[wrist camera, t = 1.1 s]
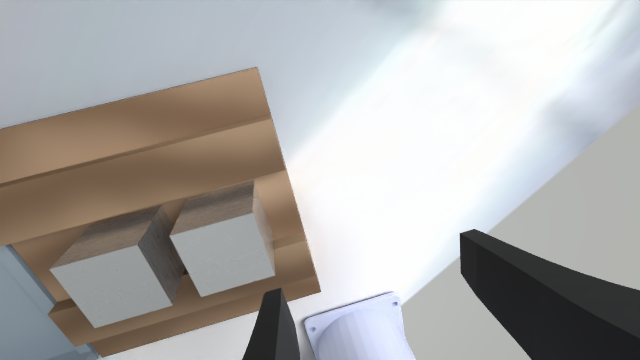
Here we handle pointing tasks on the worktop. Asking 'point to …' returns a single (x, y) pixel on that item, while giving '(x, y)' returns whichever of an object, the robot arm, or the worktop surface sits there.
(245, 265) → the chip
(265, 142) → the slot board
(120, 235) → the chip
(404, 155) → the worktop surface
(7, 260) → the tray
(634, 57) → the worktop surface
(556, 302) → the robot arm
